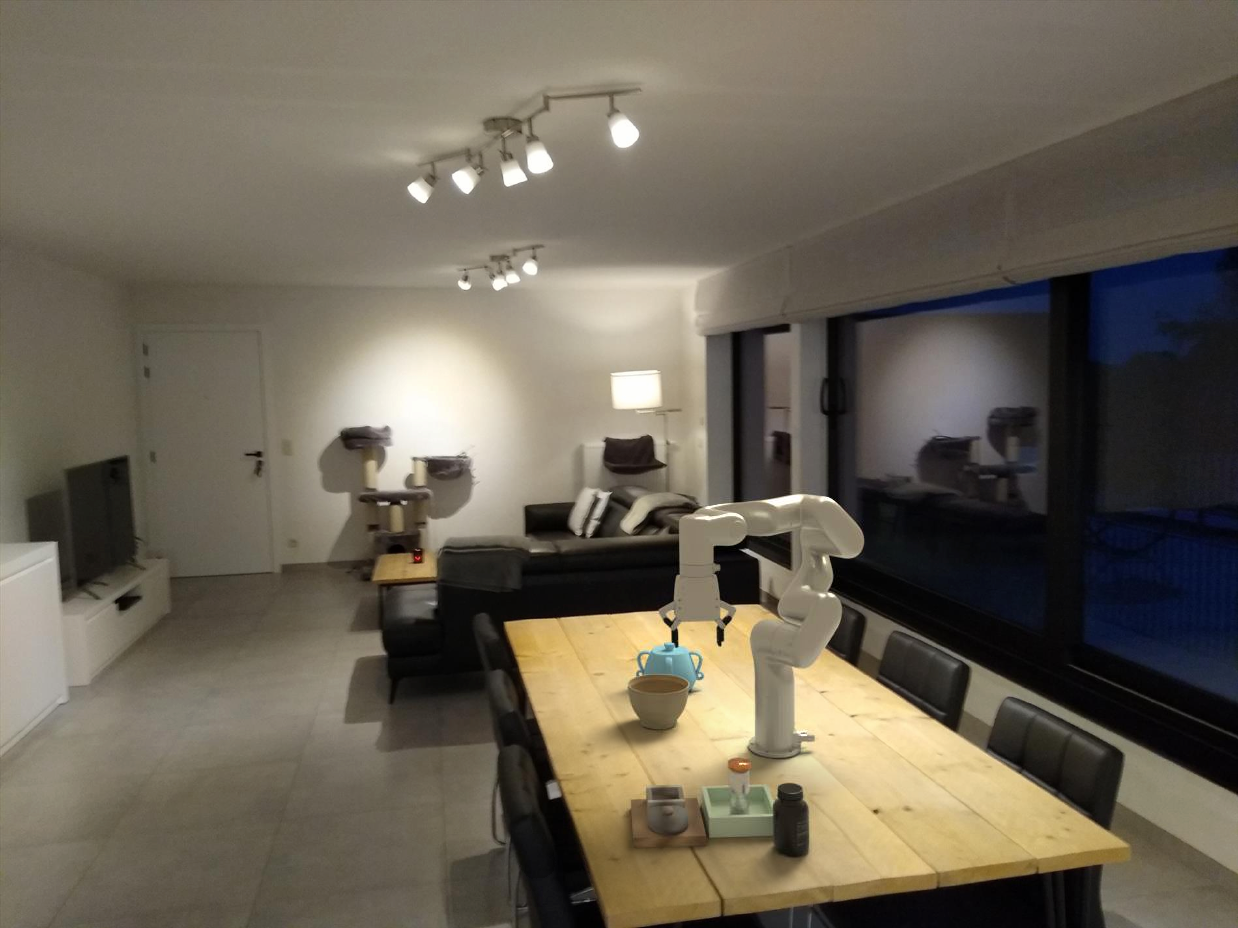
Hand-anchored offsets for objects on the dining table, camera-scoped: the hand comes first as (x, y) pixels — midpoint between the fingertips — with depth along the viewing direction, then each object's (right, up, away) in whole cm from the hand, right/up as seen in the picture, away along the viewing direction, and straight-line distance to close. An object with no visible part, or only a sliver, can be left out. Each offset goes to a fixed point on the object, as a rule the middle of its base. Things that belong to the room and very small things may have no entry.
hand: (697, 645), depth 201 cm
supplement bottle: (+15, -33, -30) cm, 47 cm away
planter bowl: (-7, -28, +35) cm, 45 cm away
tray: (+7, -32, -18) cm, 37 cm away
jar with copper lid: (+7, -31, -18) cm, 36 cm away
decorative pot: (-3, -25, +62) cm, 67 cm away
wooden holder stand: (-8, -32, -20) cm, 39 cm away
